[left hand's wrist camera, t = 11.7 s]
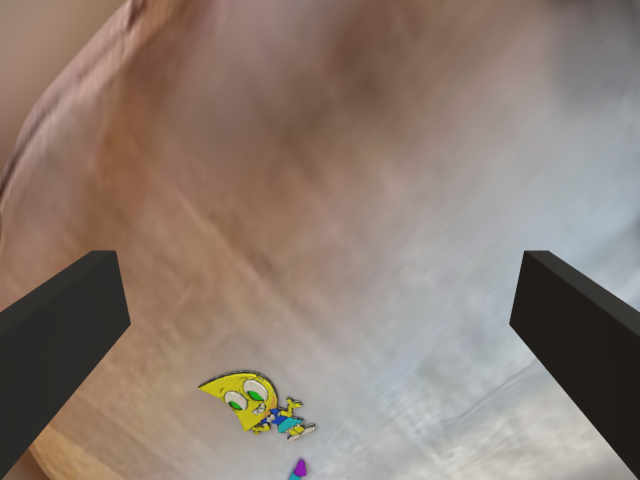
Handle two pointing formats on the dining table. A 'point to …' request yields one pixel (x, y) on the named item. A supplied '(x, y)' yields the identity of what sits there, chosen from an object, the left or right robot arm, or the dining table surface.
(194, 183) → the dining table surface
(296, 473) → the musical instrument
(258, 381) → the toy
